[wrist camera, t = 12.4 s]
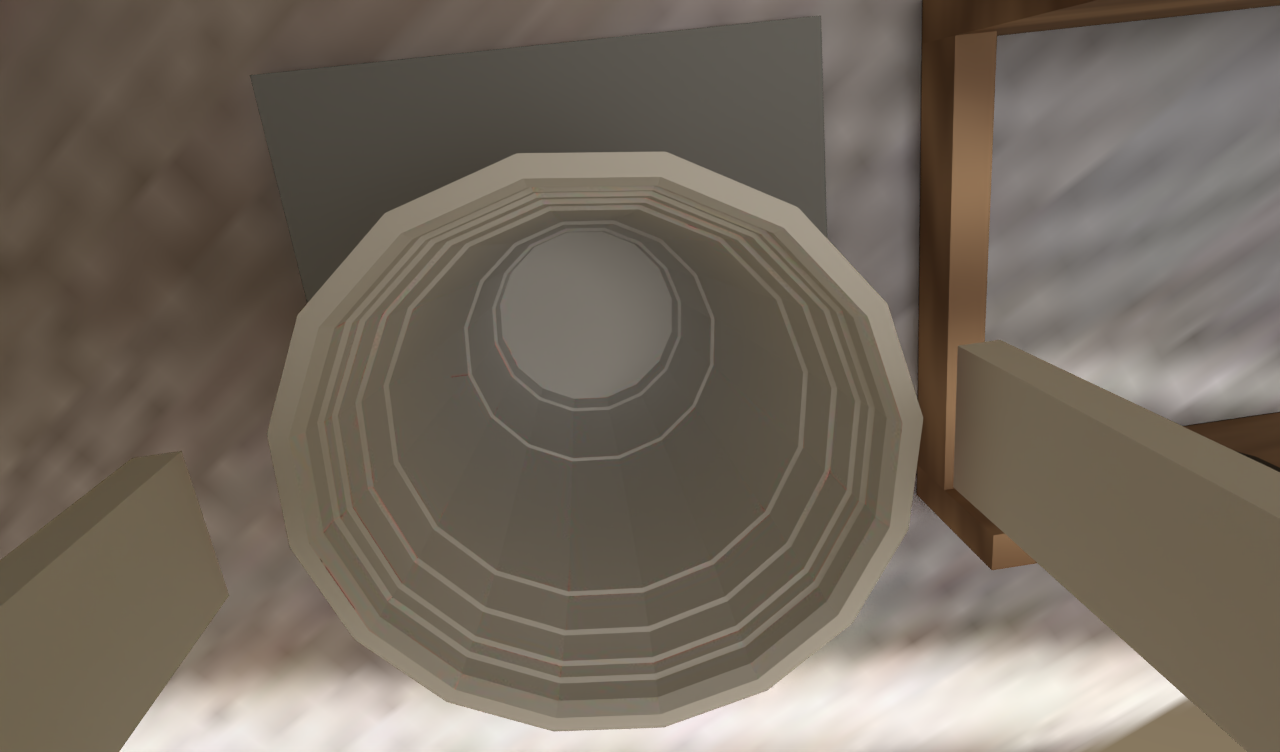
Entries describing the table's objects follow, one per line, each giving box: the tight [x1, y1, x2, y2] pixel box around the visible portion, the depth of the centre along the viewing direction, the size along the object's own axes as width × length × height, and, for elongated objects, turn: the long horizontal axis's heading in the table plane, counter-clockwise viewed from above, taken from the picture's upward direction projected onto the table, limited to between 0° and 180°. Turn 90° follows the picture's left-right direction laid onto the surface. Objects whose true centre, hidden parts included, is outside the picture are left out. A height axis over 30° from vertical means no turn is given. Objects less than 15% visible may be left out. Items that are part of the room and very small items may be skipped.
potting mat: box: [250, 16, 827, 303], centre depth 24 cm, size 16×16×1 cm
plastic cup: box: [267, 152, 923, 731], centre depth 18 cm, size 11×11×12 cm
